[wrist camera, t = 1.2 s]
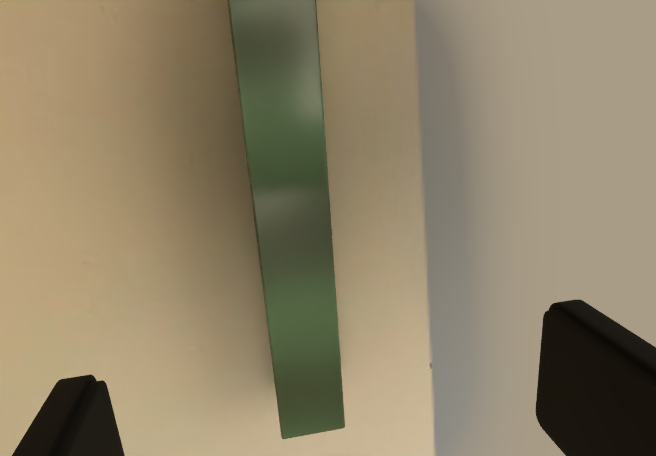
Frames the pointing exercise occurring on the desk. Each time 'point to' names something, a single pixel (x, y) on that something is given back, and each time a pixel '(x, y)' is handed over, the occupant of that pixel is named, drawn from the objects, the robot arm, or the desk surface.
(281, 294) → the bar
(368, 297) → the desk surface
